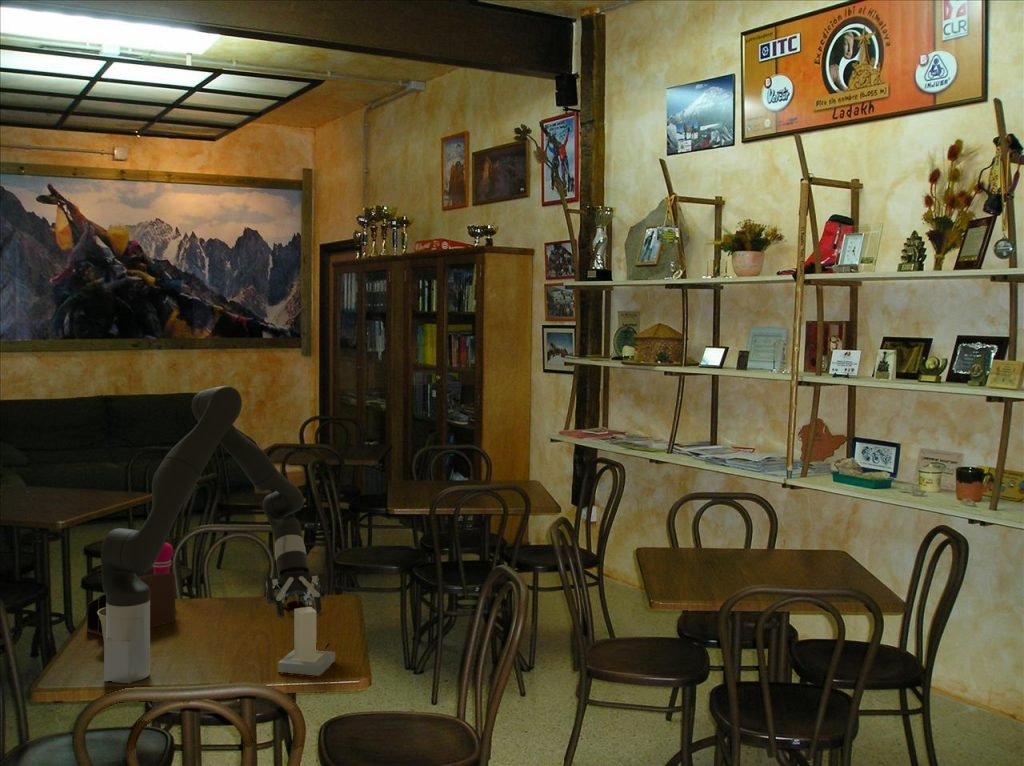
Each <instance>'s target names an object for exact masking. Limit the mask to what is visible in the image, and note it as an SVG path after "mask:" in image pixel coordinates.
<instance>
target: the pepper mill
mask: <svg viewBox="0 0 1024 766" xmlns="http://www.w3.org/2000/svg"><path fill="white" fill-rule="evenodd" d="M173 555H174V548H173V546H172V545H171V544H170V543H168V542H166V541H165V543H164V545H163V547H162V550H161V552H160V554H159V556H158V558H157V560H156V561H155V563H154V564H153V565H152V567H153V574H158V573H168V572H169V573H171V572H170V568H171V567H170V566H171V565H172V559H171V558H172V556H173Z"/></svg>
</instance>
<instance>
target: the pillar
mask: <svg viewBox="0 0 1024 766" xmlns="http://www.w3.org/2000/svg"><path fill="white" fill-rule="evenodd" d="M293 610H294V612H293V617H294V619H293V620H294V624H293V625H294V629H293V630H294V633H293V634H294V635H293V637H294V644H293V646H294V648H293V650H294V651H295V656H296V657H297V658H298V659H299V660H304V659H310V658H316V642H317V615H316V611H315V610H314V607H313V606H312V607H306V606H304V607H299V608H298V607H297V608H294V609H293Z"/></svg>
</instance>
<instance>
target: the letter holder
mask: <svg viewBox="0 0 1024 766" xmlns="http://www.w3.org/2000/svg"><path fill="white" fill-rule="evenodd" d="M137 577H138V578H139V579H140V580H141V581H142V582H144V583H145V584H146V585H148V586H149V588H150V629H152V628H156V627H158V625H159V626H162V625H161V624H163V625H165V624H164V623H166V624H169V622H170V623H173V622H175V621H176V575H175V574H174V573H173V572H170V573H169V572H168V573H158V574H154V573H152V574H147V575H142V576H137ZM105 607H106V595H105V593H103V594H101V595H100V596H99V597H97V598H95V599H93V600H91V601H90V602H88V603H87V611H86V613H87V614H86V616H87V617H86V633H88V632H90V633H89V634H92V633H93V634H92V635H95V634H96V635H95V636H98V635H99V636H98V637H101V636H102V638H103V632H102V625H101V620H100V618H99V615H98V614H97V612H98V611H99V610H100V609H102V608H105ZM172 621H173V622H172ZM155 626H156V627H155ZM151 627H152V628H151Z"/></svg>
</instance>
